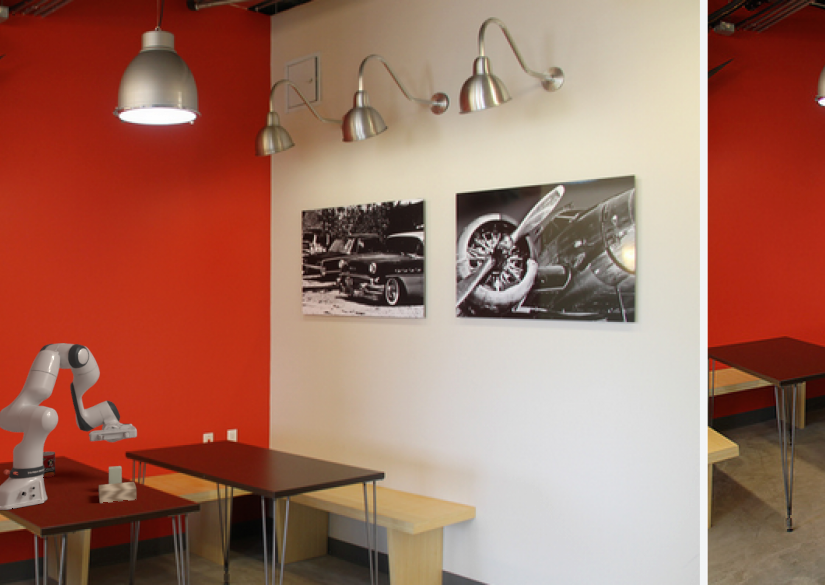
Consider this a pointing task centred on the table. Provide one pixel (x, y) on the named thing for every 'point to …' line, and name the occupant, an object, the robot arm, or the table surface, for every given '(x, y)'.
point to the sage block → (115, 474)
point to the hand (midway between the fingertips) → (113, 437)
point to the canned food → (49, 464)
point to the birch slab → (117, 492)
